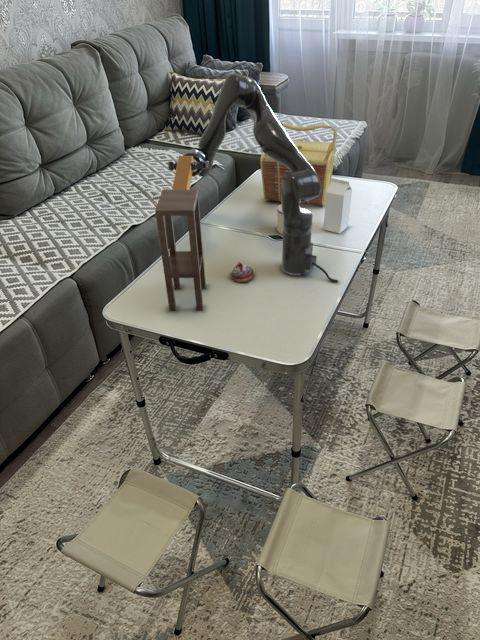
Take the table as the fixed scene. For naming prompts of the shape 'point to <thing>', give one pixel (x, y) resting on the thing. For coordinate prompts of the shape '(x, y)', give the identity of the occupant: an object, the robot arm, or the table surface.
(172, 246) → the stand
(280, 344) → the table surface
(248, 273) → the pastry
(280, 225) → the teacup with lid
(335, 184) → the milk carton
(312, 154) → the picnic basket
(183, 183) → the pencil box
